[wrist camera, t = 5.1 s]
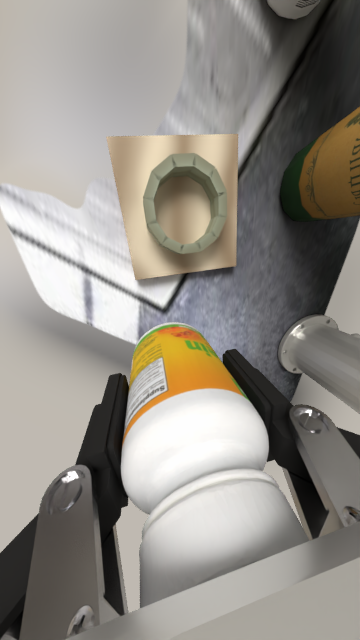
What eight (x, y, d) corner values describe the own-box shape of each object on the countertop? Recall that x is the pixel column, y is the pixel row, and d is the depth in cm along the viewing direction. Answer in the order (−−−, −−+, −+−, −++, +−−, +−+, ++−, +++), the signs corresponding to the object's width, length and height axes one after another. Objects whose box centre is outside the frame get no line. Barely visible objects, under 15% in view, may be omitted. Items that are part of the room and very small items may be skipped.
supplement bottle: (220, 348, 13) (383, 549, 4) (173, 395, 14) (227, 651, 5) (168, 304, 11) (267, 511, 2) (116, 362, 12) (31, 692, 3)
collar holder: (231, 142, 20) (251, 117, 17) (231, 265, 26) (245, 267, 22) (109, 145, 18) (100, 118, 15) (136, 278, 24) (134, 282, 20)
